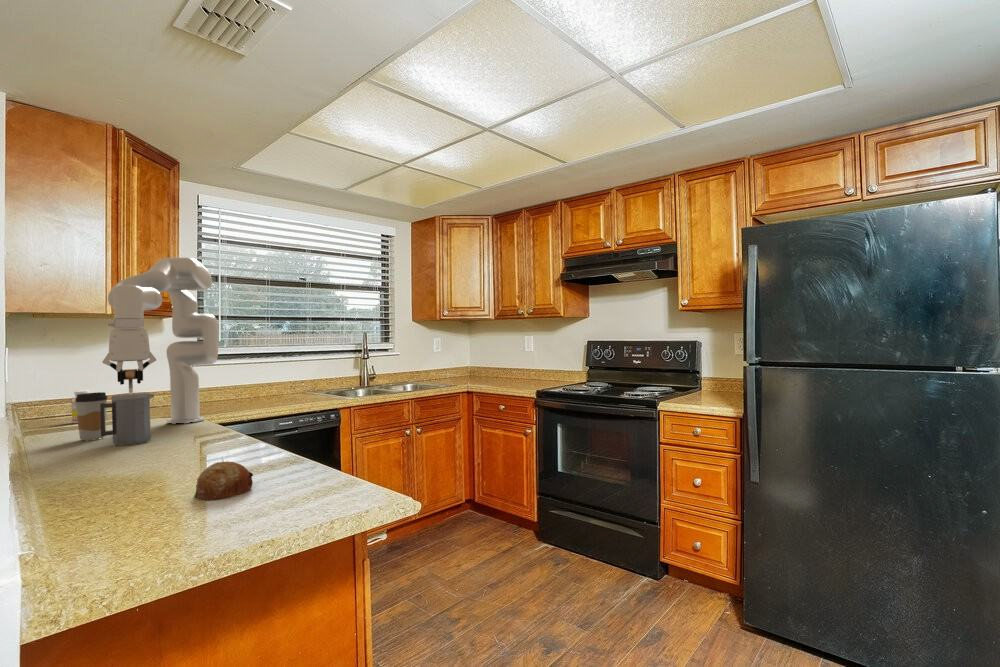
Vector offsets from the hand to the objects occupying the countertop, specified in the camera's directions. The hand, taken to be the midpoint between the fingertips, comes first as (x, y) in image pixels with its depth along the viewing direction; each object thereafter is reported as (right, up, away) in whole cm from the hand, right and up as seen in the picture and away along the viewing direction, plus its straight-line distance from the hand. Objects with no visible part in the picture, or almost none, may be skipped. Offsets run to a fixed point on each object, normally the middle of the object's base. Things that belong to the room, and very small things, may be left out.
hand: (130, 383), depth 158 cm
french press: (+1, -19, 0) cm, 19 cm away
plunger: (0, -15, 0) cm, 15 cm away
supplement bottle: (-56, -21, +50) cm, 78 cm away
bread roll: (+60, -16, -57) cm, 85 cm away
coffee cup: (-19, -19, +9) cm, 29 cm away
